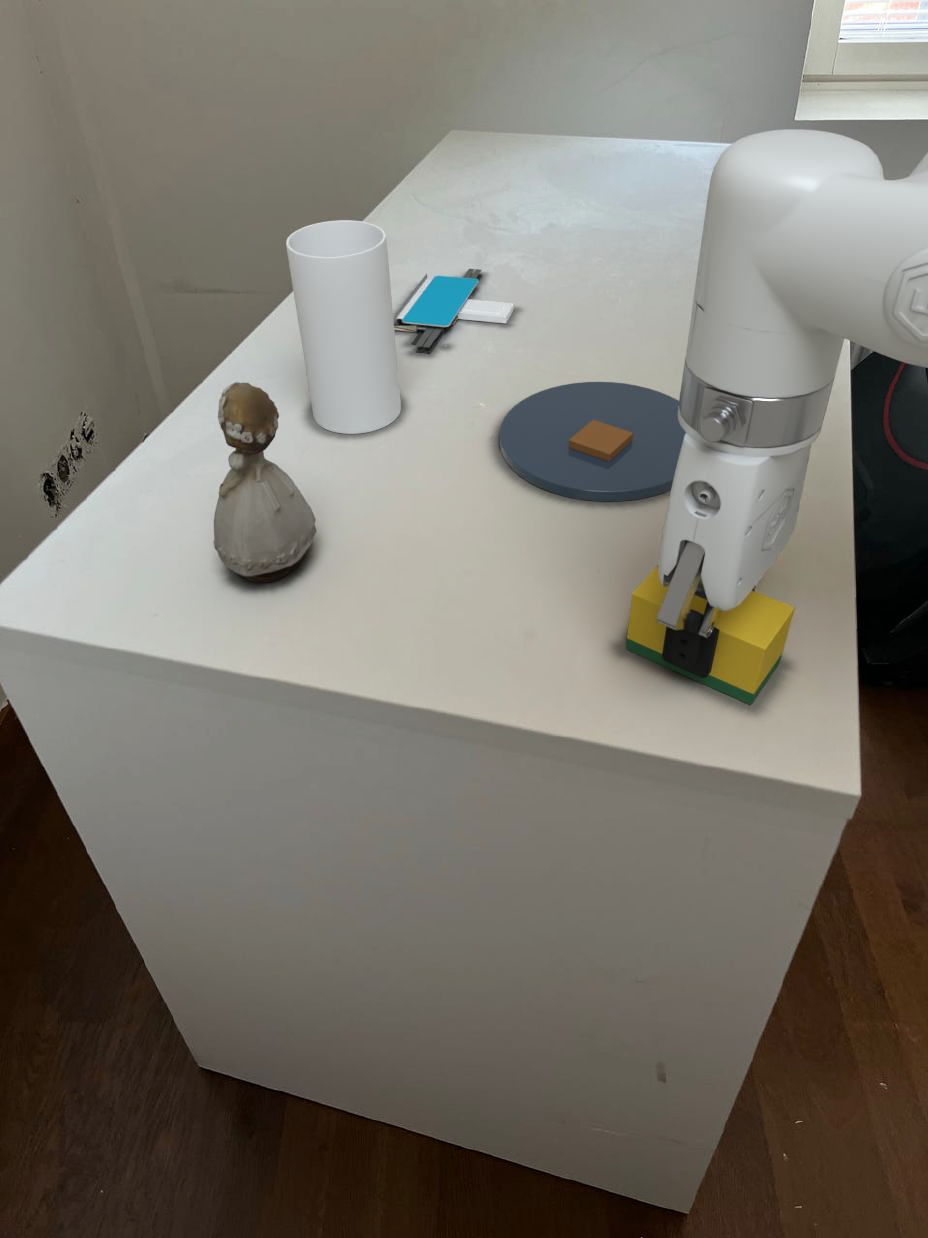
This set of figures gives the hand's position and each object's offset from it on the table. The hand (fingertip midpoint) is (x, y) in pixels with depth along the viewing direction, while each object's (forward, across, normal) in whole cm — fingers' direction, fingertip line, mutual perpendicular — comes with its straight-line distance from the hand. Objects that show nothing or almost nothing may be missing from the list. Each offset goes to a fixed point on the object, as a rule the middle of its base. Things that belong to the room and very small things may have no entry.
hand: (704, 641), depth 62 cm
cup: (+2, +11, +41) cm, 42 cm away
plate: (+1, +19, +19) cm, 27 cm away
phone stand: (+2, +33, +45) cm, 56 cm away
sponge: (+1, 0, 0) cm, 1 cm away
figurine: (+2, -10, +31) cm, 32 cm away
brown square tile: (0, +18, +18) cm, 25 cm away
